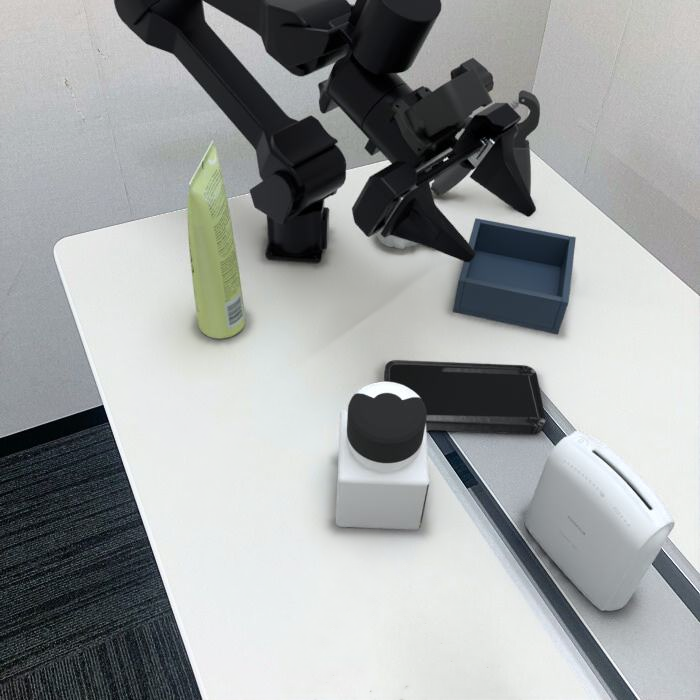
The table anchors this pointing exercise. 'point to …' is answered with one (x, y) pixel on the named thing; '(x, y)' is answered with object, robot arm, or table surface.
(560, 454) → the photo printer
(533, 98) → the hand grip strengthener
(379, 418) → the medicine bottle
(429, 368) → the phone
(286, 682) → the table surface
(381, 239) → the pale two-lobed sculpture
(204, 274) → the tube
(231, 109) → the robot arm
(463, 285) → the bin
